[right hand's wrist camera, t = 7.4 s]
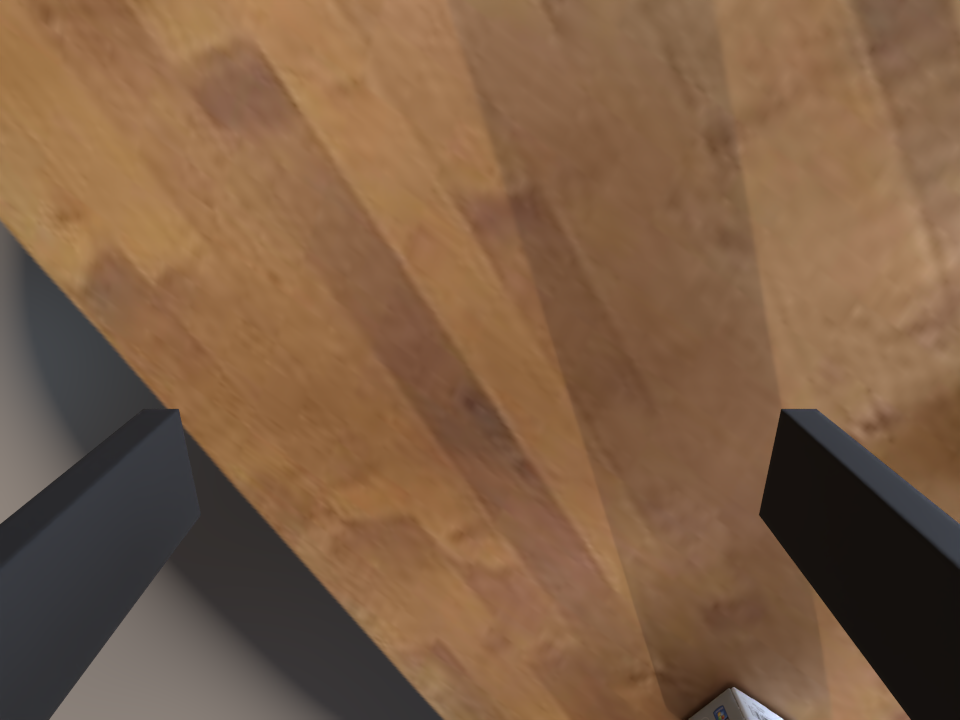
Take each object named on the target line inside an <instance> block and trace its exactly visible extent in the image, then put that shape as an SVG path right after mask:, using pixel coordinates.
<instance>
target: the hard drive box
mask: <svg viewBox="0 0 960 720" xmlns="http://www.w3.org/2000/svg"><path fill="white" fill-rule="evenodd" d="M688 720H784V719H782V718H781V717H779V716H778V715H776V714H775V713H773V712H771V711H770V710H769V709H767V708H766V707H765V706H763V705H762V704H760V703H759V702H757V701H756V700H754V699H752V698H750V697H749V696H747V695H746V694H744V693H743V692H741V691H740V690H738V689H736V688H735V687H732V688H731V689H729V688H728V689H727V690H726V691H724V692H723V693H722V694H720V695H719V696H718V697H717V698H715V699H714V700H713V701H711V702H710V703H709V704H708V705H706V706H705V707H704V708H702V709H701V710H700V711H699V712H697V713H696V714H695V715H693V716H692V717H691V718H689V719H688Z"/></svg>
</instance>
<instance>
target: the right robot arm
mask: <svg viewBox="0 0 960 720" xmlns="http://www.w3.org/2000/svg"><path fill="white" fill-rule="evenodd" d="M200 515H201V513H200V508H199V504H198V499H197V494H196V489H195V484H194V480H193V475H192V470H191V465H190V460H189V456H188V451H187V446H186V442H185V437H184V432H183V427H182V422H181V418H180V413H179V409H143V410H142V411H141V412H139V413H138V414H137V415H136V416H134V417H133V418H132V419H131V420H129V421H128V422H127V423H126V424H124V425H123V426H122V427H121V428H119V429H118V430H117V431H116V432H114V433H113V434H112V435H111V436H109V437H108V438H107V439H106V440H105V441H103V442H102V443H101V444H99V445H98V446H97V447H96V448H95V449H93V450H92V451H91V452H90V453H88V454H87V455H86V456H85V457H83V458H82V459H81V460H80V461H78V462H77V463H76V464H75V465H73V466H72V467H71V468H70V469H68V470H67V471H66V472H65V473H63V474H62V475H61V476H60V477H58V478H57V479H56V480H55V481H53V482H52V483H51V484H50V485H48V486H47V487H46V488H45V489H44V490H42V491H41V492H40V493H39V494H37V495H36V496H35V497H34V498H32V499H31V500H30V501H29V502H27V503H26V504H25V505H24V506H22V507H21V508H20V509H19V510H17V511H16V512H15V513H14V514H12V515H11V516H10V517H9V518H7V519H6V520H5V521H4V522H2V523H1V524H0V720H49V719H50V718H51V716H52V715H53V714H54V712H55V711H56V709H57V708H58V707H59V705H60V704H61V703H62V701H63V700H64V699H65V697H66V696H67V695H68V693H69V692H70V691H71V689H72V688H73V687H74V685H75V684H76V683H77V681H78V680H79V678H80V677H81V676H82V674H83V673H84V672H85V670H86V669H87V668H88V666H89V665H90V664H91V662H92V661H93V660H94V658H95V657H96V656H97V654H98V653H99V652H100V650H101V649H102V647H103V646H104V645H105V643H106V642H107V641H108V639H109V638H110V637H111V635H112V634H113V633H114V631H115V630H116V629H117V627H118V626H119V624H120V623H121V622H122V621H123V619H124V618H125V616H126V615H127V614H128V612H129V611H130V610H131V608H132V607H133V606H134V604H135V603H136V602H137V600H138V599H139V598H140V596H141V595H142V594H143V592H144V591H145V589H146V588H147V587H148V585H149V584H150V583H151V581H152V580H153V579H154V577H155V576H156V575H157V573H158V572H159V571H160V569H161V568H162V567H163V565H164V564H165V563H166V561H167V560H168V559H169V557H170V556H171V554H172V553H173V552H174V550H175V549H176V548H177V546H178V545H179V544H180V542H181V541H182V540H183V538H184V537H185V536H186V534H187V533H188V532H189V530H190V529H191V528H192V526H193V525H194V524H195V522H196V521H197V519H198V518H199V517H200ZM759 515H760V517H761V518H762V519H763V521H764V522H765V524H766V525H767V526H768V528H769V529H770V530H771V532H772V533H773V534H774V536H775V537H776V538H777V540H778V541H779V542H780V544H781V545H782V546H783V548H784V549H785V550H786V552H787V553H788V555H789V556H790V557H791V559H792V560H793V561H794V563H795V564H796V565H797V567H798V568H799V569H800V571H801V572H802V573H803V575H804V576H805V577H806V579H807V580H808V581H809V583H810V584H811V585H812V587H813V588H814V590H815V591H816V592H817V594H818V595H819V596H820V598H821V599H822V600H823V602H824V603H825V604H826V606H827V607H828V608H829V610H830V611H831V612H832V614H833V615H834V616H835V618H836V619H837V621H838V622H839V623H840V625H841V626H842V627H843V629H844V630H845V631H846V633H847V634H848V635H849V637H850V638H851V639H852V641H853V642H854V643H855V645H856V646H857V647H858V649H859V650H860V652H861V653H862V654H863V656H864V657H865V658H866V660H867V661H868V662H869V664H870V665H871V666H872V668H873V669H874V670H875V672H876V673H877V674H878V676H879V677H880V678H881V680H882V681H883V683H884V684H885V685H886V687H887V688H888V689H889V691H890V692H891V693H892V695H893V696H894V697H895V699H896V700H897V701H898V703H899V704H900V705H901V707H902V708H903V709H904V711H905V712H906V714H907V715H908V716H909V718H910V719H911V720H960V524H959V523H958V522H956V521H955V520H954V519H953V518H951V517H950V516H949V515H948V514H946V513H945V512H944V511H943V510H941V509H940V508H939V507H938V506H936V505H935V504H934V503H933V502H931V501H930V500H929V499H928V498H926V497H925V496H924V495H923V494H921V493H920V492H919V491H918V490H917V489H915V488H914V487H913V486H912V485H910V484H909V483H908V482H907V481H905V480H904V479H903V478H902V477H900V476H899V475H898V474H897V473H895V472H894V471H893V470H892V469H890V468H889V467H888V466H887V465H885V464H884V463H883V462H882V461H880V460H879V459H878V458H877V457H875V456H874V455H873V454H872V453H870V452H869V451H868V450H867V449H865V448H864V447H863V446H862V445H861V444H859V443H858V442H857V441H856V440H854V439H853V438H852V437H851V436H849V435H848V434H847V433H846V432H844V431H843V430H842V429H841V428H839V427H838V426H837V425H836V424H834V423H833V422H832V421H831V420H829V419H828V418H827V417H826V416H824V415H823V414H822V413H821V412H819V411H818V410H817V409H781V413H780V418H779V422H778V427H777V432H776V437H775V441H774V446H773V451H772V456H771V460H770V465H769V470H768V475H767V480H766V484H765V489H764V494H763V499H762V503H761V508H760V513H759Z"/></svg>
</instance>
